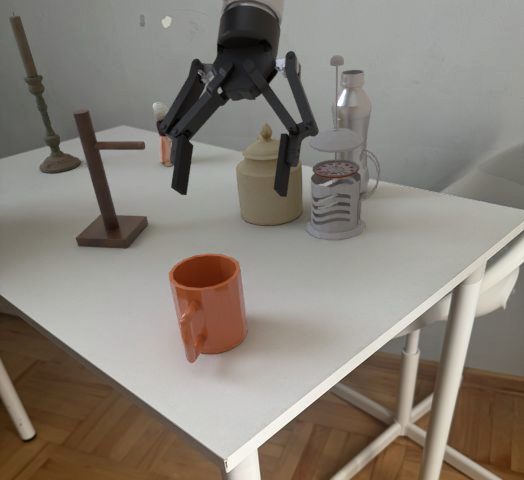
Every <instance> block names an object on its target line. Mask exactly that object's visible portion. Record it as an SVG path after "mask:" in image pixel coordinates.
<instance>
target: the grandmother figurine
mask: <svg viewBox="0 0 524 480" xmlns="http://www.w3.org/2000/svg"><path fill="white" fill-rule="evenodd" d="M169 109H170V108H168V107H167V105H166V104H165V103H163V102H160V101H156V102H154V103H153V104H152V110H153V117H154V119H155V120H157V121H156V129H157V132H158V142H159V143H158V144H159V145H158V146H159V161H160V163H161V164H163V165H164V167H172V166H174V165H173V164H171V162H170V155H171V147H172V140H171V139H170V138H169V137H168V136H166V135H165V134H164V133H163V132H162V131H161V130H160V125H161V123H162V121H163V120H164V118H165V116H166V114H167V113H168V111H169Z"/></svg>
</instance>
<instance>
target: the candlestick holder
mask: <svg viewBox="0 0 524 480" xmlns="http://www.w3.org/2000/svg"><path fill="white" fill-rule="evenodd" d="M8 21H9V24H10V27H11V31H12V33H13V37H14V40H15V43H16V47H17V50H18V52H19V56H20V59H21V62H22V65H23V68H24V72H25V74H26V76H25V77H23V81H24V83H26V84H27V85H28V87H27V91H28V92H29V94H31V95H33V96H34V97H35V103H36V109H37V111H38V112H39V114H40V116H41V120H42V124H43V126H44V128H45V135H44V136H43V141H44V143H45V144H46V146H47V147H49V149H50V154H49V156H47V157H45V159H44V160H43V162H42V163H40V165H39V170H40V171H41V172H42V173H45V174H57V173H64V172H68V171H71V170H73V169H75V168H77V167H79V166H80V165H81V160H80V158H79V157H77V156H74V155H72V154H70V153H65V152H63V151H62V150H61V147H60V144H61V136H60V134H59V133H56V132H55V131H54V129H53V127H52V122H51V121H52V120H51V119H50V116H49V112H48V104H47V103H46V101H45V98H44V96H43V94H44V92H45V91H46V88H45V86H44V84H43V83H42V82H43V79H44V76H43V75H42V74H39V73H38V70H37V68H36V64H35V60H34V58H33V54H32V50H31V48H30V44H29V41H28V38H27V35H26V34H27V33H26V31H25V28H24V25H23V22H22V18H21V16H20V15H15V11H12V16H9V17H8Z"/></svg>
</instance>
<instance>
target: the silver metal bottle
mask: <svg viewBox="0 0 524 480" xmlns="http://www.w3.org/2000/svg"><path fill="white" fill-rule="evenodd" d="M365 84H366V83H365V70H362V69H347V70H343V71H341V72H340V82H339V85H340V87H341V89H340V91H339V92H337V128H343V129H349V130H352V131H353V132H355V133H357V134H358V135H360V136H362V137H363V143H362V145H361V146H359V147H358V148H356V149H354V150H351V151H346V152H337V159H338V160H339V159H340V160H341V159H342V160H349V161H352V162H355V163H356V164H358V165H359V170H358V173H359V174H360V175H361V182H360V194H363V193H364V192H365V191H366V189H368V187H369V181H370V172H369V166H368V157H367V156H365V155H364V154H363V159H362V161H360V154H361V152H362V150H363V149H367V145H368V141H367V140H368V132H369V125H370V120H371V113H372V102H371V99H370V97H369V95H368V94H367V93H366V91H365V89H364V87H363V86H364V85H365ZM331 116H332V123H333V124H332V125H333V128H336V97H335V98H334V100H333V101H332V105H331ZM363 153H366V154H367V153H368V152H367V151H364V152H363ZM367 155H368V154H367ZM333 160H335V158H334V159H333ZM341 179H348V180H350V181H352V182H354V183H356V181H355V180H354V179H353V178H352V177H350V176H349V177H345V178H334V179H332V180H331V184H332V183H334V182H336V181H338V180H341ZM347 185H350V184H347V183H343V184H338V185H336V186H334V187H341V186H347ZM347 195H348V194H347Z"/></svg>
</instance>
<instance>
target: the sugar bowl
mask: <svg viewBox="0 0 524 480" xmlns="http://www.w3.org/2000/svg"><path fill="white" fill-rule="evenodd" d="M272 136H273V129H272V127H271V126H270V125H269V124H268V123H266V122H265V123H264V124H263V125H262V126H261V129H260V134H258V135H257V136H256V141H253V142H252V143H250V144H249V145H248V146H246V147H245V148H244V149H243V150H242V153H241V155H242V157H244V158H243V159H242V160H240V161H239V162H238V163H237V164H236V166H235V172H236V173H235V175H236V187H237V196H238V204H239V211H240V216H241V218H242V219H243V220H244V221H245V222H247V223H249V224H251V225H257V226H277V225H283V224H286V223H290V222H292V221H295V220H296V219H298V218H299V217H300V216H301V215H302V213H303V209H304V207H303V206H304V203H303V201H304V200H303V199H304V198H303V165H302V160H300V158H299V163H298V165H297V167H291V168H290V176H289V183H288V191H287V197H281V196H280V195H279V194H278V193H277V192H276V191H275V190H274V182H275V174H276V167H277V159H278V152H279V145H280V139H279V138H271V137H272Z"/></svg>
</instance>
